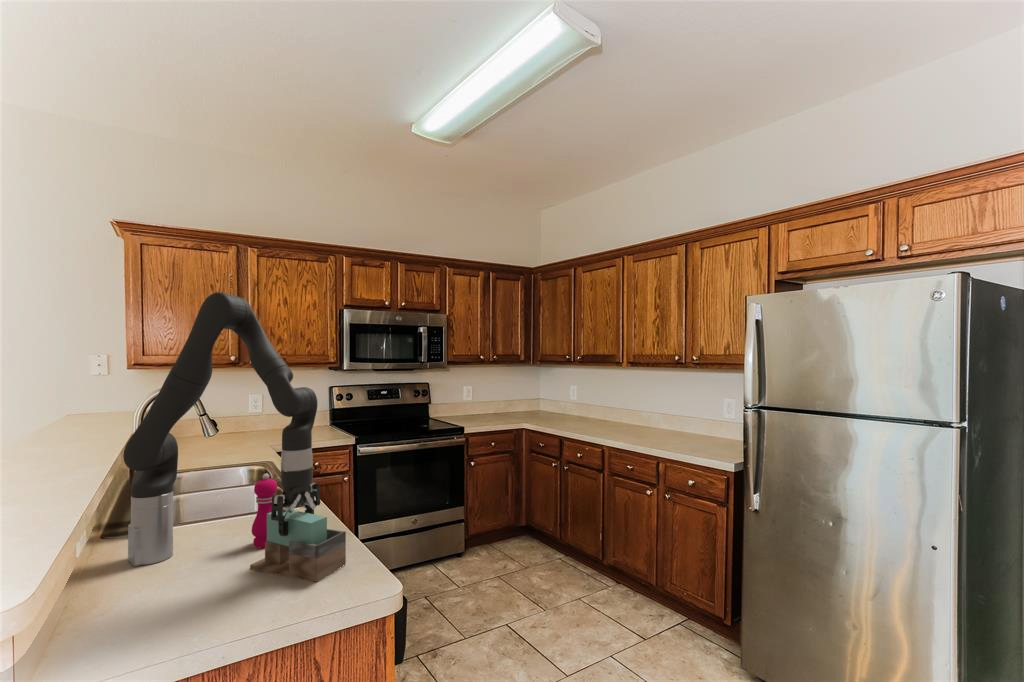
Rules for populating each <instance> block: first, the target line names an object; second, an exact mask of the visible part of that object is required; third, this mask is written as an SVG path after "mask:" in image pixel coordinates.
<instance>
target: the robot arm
mask: <svg viewBox="0 0 1024 682" xmlns="http://www.w3.org/2000/svg"><path fill="white" fill-rule="evenodd" d="M223 330H230V331H232V332H234V333H235V334H236V335H237V336H238V337H240V339H241V341H243V342H244V344H245V346H246V349H247V353H248V358H249V361H250V364H251V366H252V368H253V370H254V372H255V373H256V374H257V376H258V377H259V379H260V380H261V381H262V382H263V383H264V385H265V386H266V388H267V391H268V395H269V397H270V400H271V402H272V404H273V406H274V408H275V410H276V411H277V412H278V413H279V414H280V415H282V416H283V417H287V418H291V421H290V423H289V424H287V425H286V426H285V427H284V428H282V432H281V455H280V456H281V457H280V486H281V487H282V494H279V495H277V494H276V495H275V494H274V495H273V496H272V508H271V520H276V521H278V523H279V527H278V532H279V534H280V536H287V535H288V522H289V521H287V520H288V518H289V516H290V514H291V513H292V512H293V511H294V510H295V509H297V508H298V507H300V506H303V508H305V510H304V512H305V513H310V514H315V509H316V508H317V506H320V505H321V489H320V488H321V485H320V483H318V482H313V480H314V477H313V473H314V472H313V471H314V469H313V468H314V466H313V464H314V462H313V461H314V459H313V458H314V457H313V448H312V446H313V443H312V440H313V438H312V437H313V436H312V430H313V428H314V425H315V421H316V420H315V419H316V415H317V410H318V398H317V394H316V393H315V391H314V390H313V389H312V388H310V387H307V386H306V387H305V386H304V387H295V388H294V387H293V386H292V384H291V382H292V380H293V379H294V373H293V371H292V369H291V368H290V367H289V365H288V364H287V363H286V361H285V360H284V359H283V357H282V356H281V355H280V354H279V352H278V350H276V348H275V347H274V346H273V344H272V343H271V341H270V339H269V338H268V336H267V334H266V332H265V331H264V329H263V327H262V325H261V322H260V321H259V319H258V318H257V316H256V313H255V312H254V309H253V308H252V307H251V305H250V303H249V302H248V301H247V300H246V299H245V298H243V297H240V296H237V295H233V294H229V293H226V292H221V291H220V292H219V291H218V292H217V291H216V292H213V293H211V294H210V295H208V296H207V297H206V298H205V299H204V300H203V302H202V304H201V306H200V308H199V310H198V311H197V315H196V318H195V320H194V322H193V325H192V328H191V330H190V333H189V335H188V337H187V339H186V341H185V343H184V345H183V347H182V349H181V351H180V353H179V355H178V357H177V359H176V361H174V364H172V367H171V368H170V370H169V373H168V374H167V376H166V378H165V380H164V382H163V383H162V386H161V387H160V390H159V391H158V393H157V395H156V397H155V399H154V400H153V402H152V404H151V406H150V408H149V409H148V411H147V413H146V415H145V416H144V418H143V420H142V421H141V422H140V424H139V425H138V426H137V428H136V429H135V431H134V432H133V434H132V435H131V436H130V438H129V439H128V441H127V442H126V444H125V447H124V450H123V456H122V457H123V463H124V465H125V466H126V467H127V468H128V469H130V470H132V471H143V472H142V474H141V476H140V478H139V479H138V480H137V481H136V482H135V483H134V484H133V485H132V487H131V486H130V523H129V524H128V526H127V531H128V532H127V535H128V536H127V560H128V562H129V563H130V564H131V565H132V566H133V567H137V566H144V565H151V564H156V563H157V564H158V563H160V562H163V561H165V560H167V559H169V558H171V557H172V556H173V555H174V485H175V483H176V480H177V477H178V465H179V464H178V463H179V447H178V446H179V445H178V442H177V440H176V437H175V436H174V435H173V434H172V433H170V432H171V430H172V428H173V427H174V426H175V425H176V423H177V422H179V421H180V419H181V418H183V416H185V414H187V412H189V411H190V410H191V409H192V408H193V407H194V405H196V403H197V402H199V400H200V398H201V397H202V396H203V394H204V392H205V390H206V388H207V387H208V385H209V383H210V381H211V378H212V375H213V349H214V346H215V344H216V342H217V340H218V338H219V336H220V334H221V333H222V331H223ZM285 512H286V513H285ZM276 513H277V515H276ZM284 513H285V515H284ZM283 515H284V516H283Z"/></svg>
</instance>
